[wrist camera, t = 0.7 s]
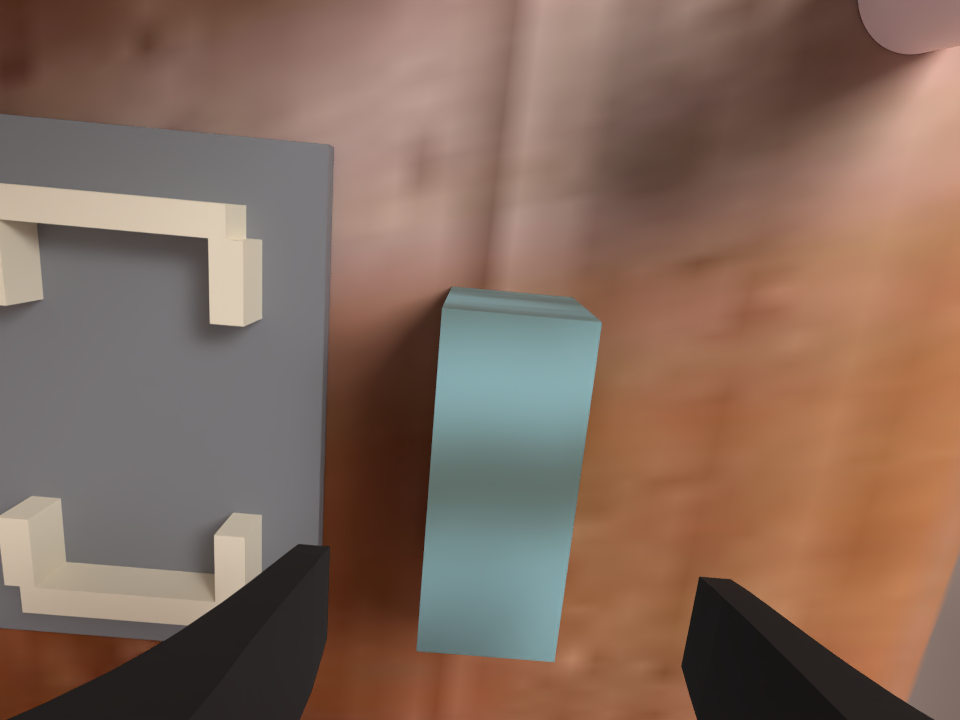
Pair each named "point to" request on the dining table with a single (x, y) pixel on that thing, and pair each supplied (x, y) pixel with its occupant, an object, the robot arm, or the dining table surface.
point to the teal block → (504, 471)
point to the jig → (156, 369)
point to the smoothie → (912, 24)
